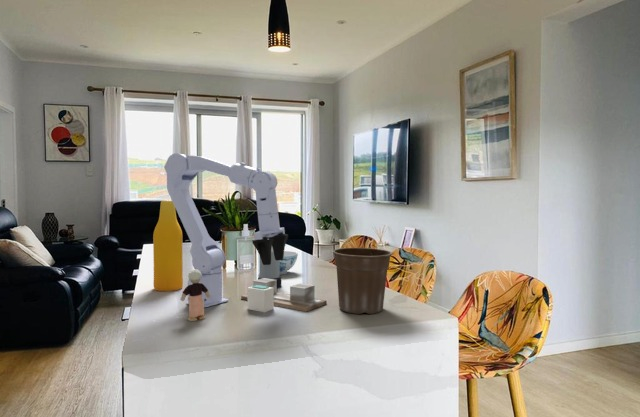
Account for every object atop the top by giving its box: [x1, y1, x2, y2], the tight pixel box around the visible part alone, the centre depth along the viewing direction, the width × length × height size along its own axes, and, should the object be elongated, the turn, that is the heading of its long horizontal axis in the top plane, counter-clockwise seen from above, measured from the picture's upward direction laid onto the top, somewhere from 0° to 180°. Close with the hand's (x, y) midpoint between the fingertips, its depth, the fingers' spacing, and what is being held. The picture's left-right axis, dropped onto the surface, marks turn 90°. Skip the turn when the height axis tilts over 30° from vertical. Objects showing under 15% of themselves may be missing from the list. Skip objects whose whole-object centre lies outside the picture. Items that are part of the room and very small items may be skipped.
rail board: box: [240, 278, 327, 312], centre depth 133 cm, size 10×24×6 cm, turn 56°
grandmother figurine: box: [180, 268, 210, 322], centre depth 115 cm, size 8×4×13 cm, turn 141°
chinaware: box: [279, 250, 299, 276], centre depth 179 cm, size 15×15×8 cm
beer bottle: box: [152, 200, 184, 292], centre depth 150 cm, size 9×9×29 cm
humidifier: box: [257, 234, 282, 289], centre depth 154 cm, size 8×8×25 cm
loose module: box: [246, 285, 275, 313], centre depth 125 cm, size 4×6×6 cm, turn 56°
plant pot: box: [332, 247, 393, 315], centre depth 125 cm, size 16×16×16 cm
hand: (273, 262), depth 127 cm, fingers open, 7 cm apart
